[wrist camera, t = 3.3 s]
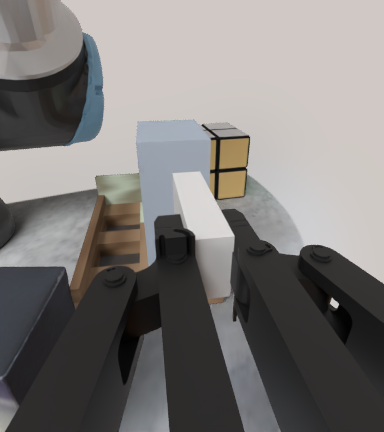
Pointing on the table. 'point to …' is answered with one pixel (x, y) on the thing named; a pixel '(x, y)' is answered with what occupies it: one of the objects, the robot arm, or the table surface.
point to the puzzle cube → (227, 160)
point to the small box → (28, 328)
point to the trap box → (113, 233)
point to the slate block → (167, 166)
